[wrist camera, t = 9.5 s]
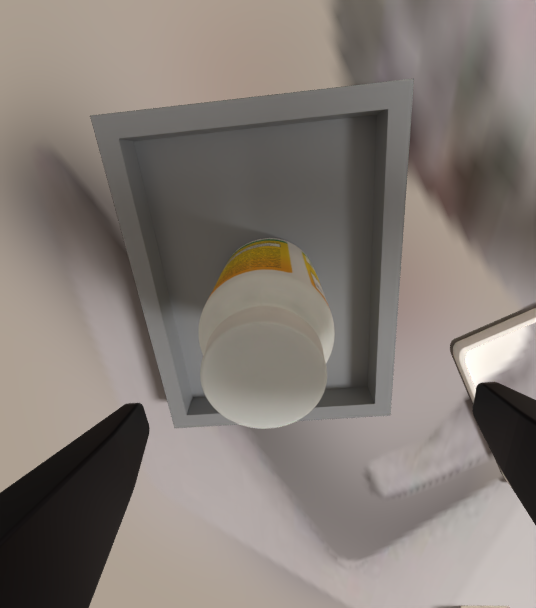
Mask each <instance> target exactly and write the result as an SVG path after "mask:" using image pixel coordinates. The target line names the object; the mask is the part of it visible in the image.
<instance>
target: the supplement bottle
mask: <svg viewBox="0 0 536 608" xmlns="http://www.w3.org/2000/svg"><path fill="white" fill-rule="evenodd" d="M198 332H199V343H200V347H201V351H202V354H203V359H202V362H201V371H200V377H201V385H202V388H203V391H204V394H205V396H206V398H207V399H208V401H209V402H210V404H211V405H212V406H213V408H214V409H216V410H217V411H218V412H219V413H220V414H221V415H223V416H224V417H225V418H227V419H229V420H231V421H233V422H235V423H237V424H240V425H242V426H247V427H251V428H260V429H265V428H278V427H283V426H286V425H289V424H291V423H294V422H296V421H298V420H299V419H301V418H303V417H304V416H305V415H307V414H308V413H309V412H310V411H311V410H312V409H313V408H314V407H315V406H316V405H317V404H318V403H319V401H320V399H321V397H322V395H323V393H324V391H325V387H326V382H327V368H326V363H327V361H328V359H329V357H330V354H331V352H332V348H333V344H334V336H335V332H334V322H333V317H332V314H331V311H330V308H329V306H328V303H327V300H326V298H325V295H324V293H323V290H322V287H321V285H320V282H319V279H318V277H317V274H316V272H315V269H314V267H313V265H312V263H311V261H310V259H309V258H308V257H307V255H306V254H305V253H304V252H303V251H302V250H301V249H300V248H298V247H297V246H296V245H294V244H292V243H290V242H288V241H285V240H282V239H277V238H265V239H258V240H255V241H252V242H249V243H247V244H245V245H243V246H242V247H240V248H239V249H238V250H237V251H236V252H235V253H234V254H233V255H232V256H231V258H230V259H229V260H228V262H227V264H226V266H225V268H224V269H223V271H222V273H221V275H220V277H219V279H218V281H217V283H216V285H215V287H214V289H213V291H212V293H211V295H210V296H209V298H208V300H207V302H206V304H205V306H204V309H203V311H202V314H201V317H200V322H199V331H198Z"/></svg>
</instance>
